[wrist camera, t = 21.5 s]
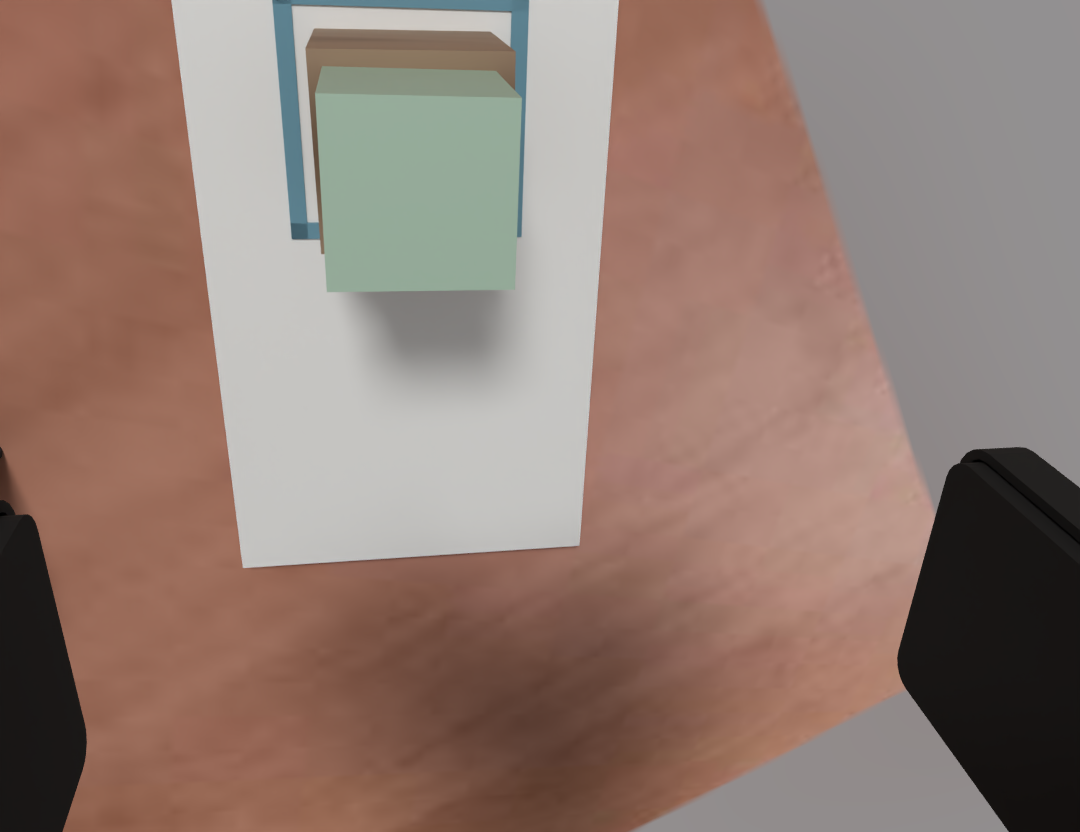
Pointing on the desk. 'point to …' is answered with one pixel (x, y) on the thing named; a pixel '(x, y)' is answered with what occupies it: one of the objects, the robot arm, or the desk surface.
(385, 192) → the sage cube
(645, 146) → the desk surface
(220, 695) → the desk surface
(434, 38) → the walnut block
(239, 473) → the building board
